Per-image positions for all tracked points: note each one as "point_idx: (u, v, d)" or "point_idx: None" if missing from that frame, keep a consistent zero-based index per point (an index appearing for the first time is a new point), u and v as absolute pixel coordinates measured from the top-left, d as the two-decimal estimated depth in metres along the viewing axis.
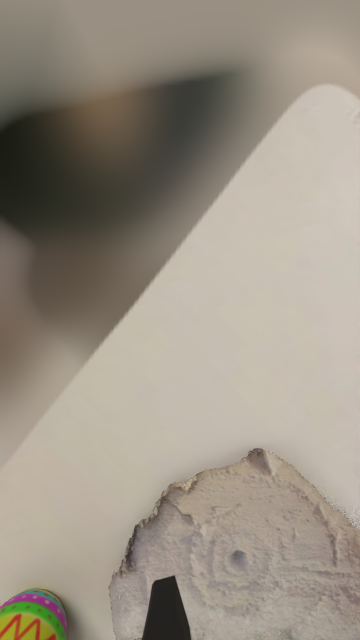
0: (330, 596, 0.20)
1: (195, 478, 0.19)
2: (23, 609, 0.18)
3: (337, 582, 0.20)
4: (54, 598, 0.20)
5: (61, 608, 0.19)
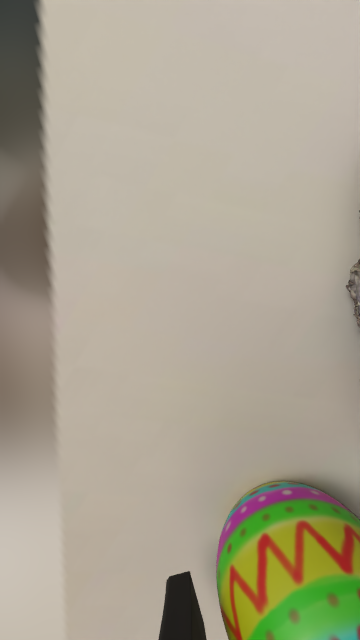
0: None
1: None
2: (261, 524, 0.09)
3: None
4: (290, 482, 0.10)
5: (313, 488, 0.10)
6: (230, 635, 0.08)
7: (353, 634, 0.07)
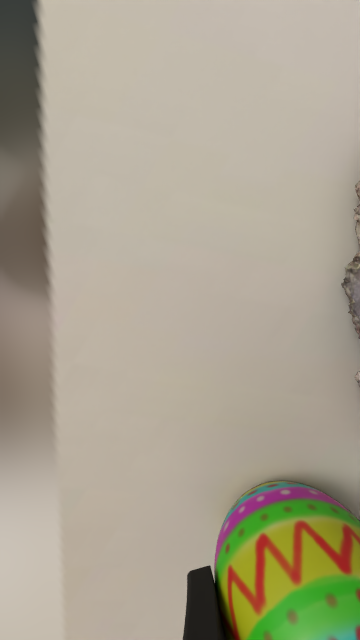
0: None
1: None
2: (259, 524, 0.09)
3: None
4: (288, 482, 0.10)
5: (311, 488, 0.10)
6: (228, 636, 0.08)
7: (351, 635, 0.06)
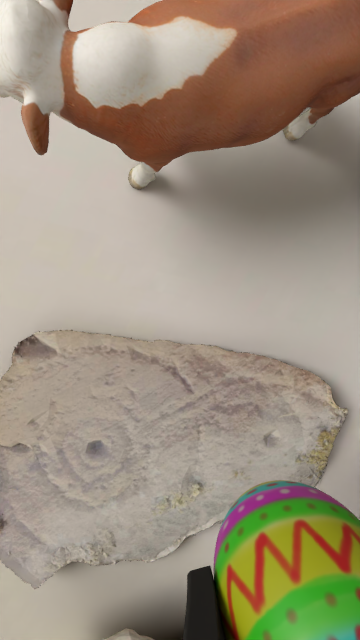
0: (207, 423, 0.17)
1: None
2: (258, 523, 0.09)
3: (205, 405, 0.17)
4: (288, 481, 0.10)
5: (311, 487, 0.10)
6: (227, 635, 0.08)
7: (351, 634, 0.06)
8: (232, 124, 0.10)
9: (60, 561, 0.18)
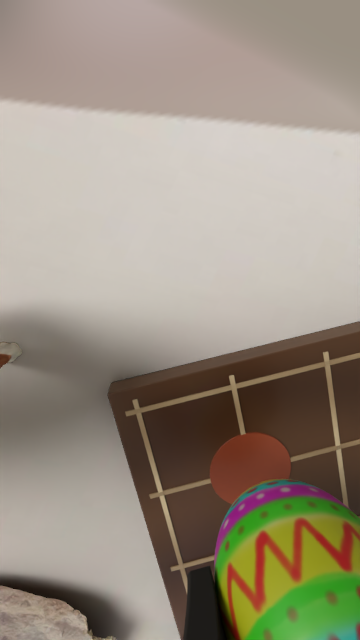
0: None
1: None
2: (259, 522, 0.09)
3: None
4: (288, 480, 0.10)
5: (311, 485, 0.10)
6: (228, 634, 0.08)
7: (352, 632, 0.06)
8: None
9: None
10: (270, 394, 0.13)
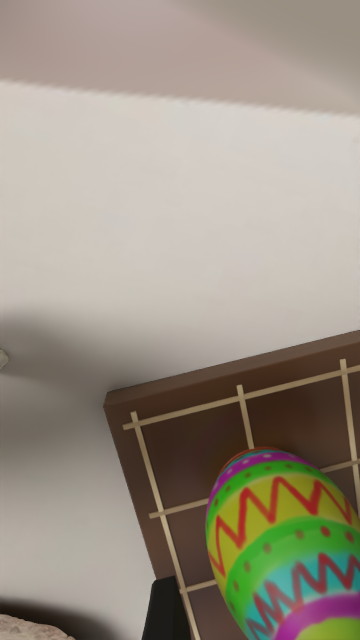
0: None
1: None
2: (243, 481, 0.10)
3: None
4: None
5: (290, 453, 0.12)
6: (215, 572, 0.10)
7: (314, 559, 0.08)
8: None
9: None
10: (282, 406, 0.12)
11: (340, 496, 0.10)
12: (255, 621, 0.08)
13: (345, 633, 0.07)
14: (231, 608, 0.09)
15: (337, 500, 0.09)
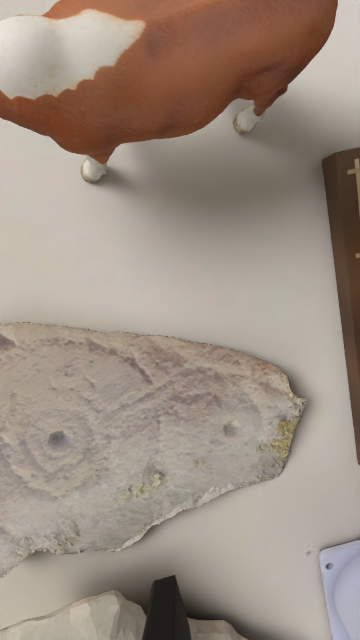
0: (166, 413, 0.18)
1: None
2: None
3: (164, 395, 0.18)
4: None
5: None
6: None
7: None
8: (154, 114, 0.10)
9: (25, 551, 0.18)
10: None
11: None
12: None
13: None
14: None
15: None
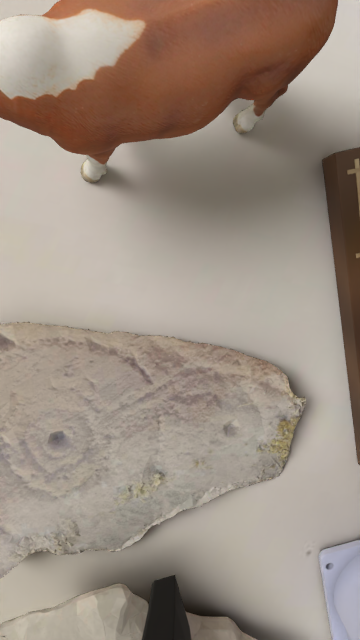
0: (166, 413, 0.18)
1: None
2: None
3: (164, 395, 0.18)
4: None
5: None
6: None
7: None
8: (154, 114, 0.10)
9: (25, 551, 0.18)
10: None
11: None
12: None
13: None
14: None
15: None
